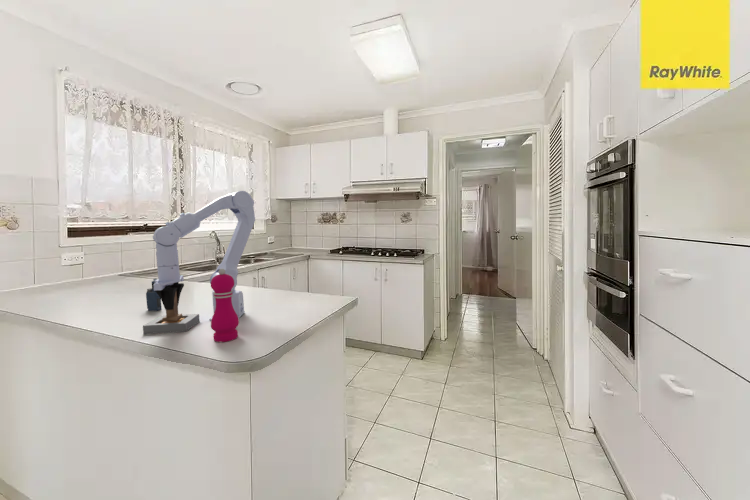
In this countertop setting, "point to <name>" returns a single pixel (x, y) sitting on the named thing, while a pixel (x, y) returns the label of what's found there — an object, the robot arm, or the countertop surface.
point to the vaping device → (153, 299)
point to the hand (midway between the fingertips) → (171, 308)
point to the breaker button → (174, 321)
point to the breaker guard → (171, 325)
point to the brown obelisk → (172, 312)
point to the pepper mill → (224, 308)
